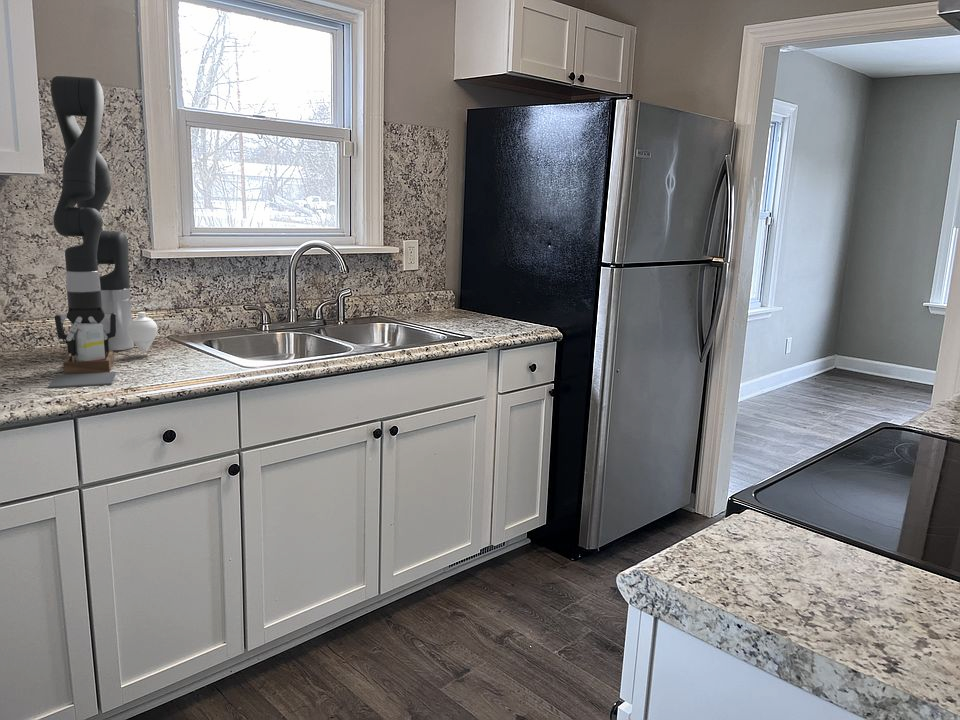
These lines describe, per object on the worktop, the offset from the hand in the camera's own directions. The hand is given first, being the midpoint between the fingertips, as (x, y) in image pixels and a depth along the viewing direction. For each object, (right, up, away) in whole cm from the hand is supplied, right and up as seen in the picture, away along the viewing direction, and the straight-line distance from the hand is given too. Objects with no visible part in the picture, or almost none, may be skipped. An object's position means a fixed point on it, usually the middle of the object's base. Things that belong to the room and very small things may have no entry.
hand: (89, 354), depth 191 cm
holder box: (0, -3, +1) cm, 4 cm away
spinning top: (+6, 0, +18) cm, 19 cm away
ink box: (0, -4, +1) cm, 4 cm away
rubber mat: (+5, -6, -12) cm, 14 cm away
